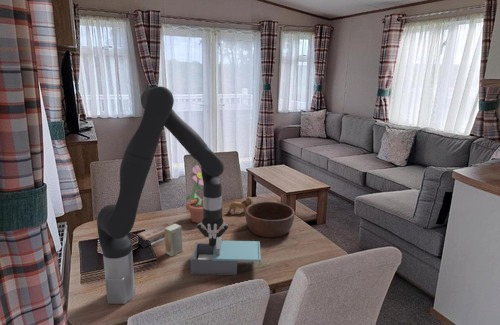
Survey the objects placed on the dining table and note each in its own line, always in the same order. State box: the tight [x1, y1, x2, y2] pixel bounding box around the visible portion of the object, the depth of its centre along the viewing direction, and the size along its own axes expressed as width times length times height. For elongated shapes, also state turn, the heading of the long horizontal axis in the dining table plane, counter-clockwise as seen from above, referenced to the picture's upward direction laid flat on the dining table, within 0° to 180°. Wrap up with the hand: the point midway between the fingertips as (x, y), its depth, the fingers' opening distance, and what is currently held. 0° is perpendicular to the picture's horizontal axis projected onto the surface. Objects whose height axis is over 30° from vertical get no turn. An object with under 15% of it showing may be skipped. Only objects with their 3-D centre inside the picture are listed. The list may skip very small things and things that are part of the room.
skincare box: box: [164, 223, 184, 257], centre depth 146 cm, size 6×4×12 cm
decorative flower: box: [185, 164, 204, 224], centre depth 176 cm, size 15×14×30 cm
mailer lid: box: [212, 236, 262, 266], centre depth 137 cm, size 15×19×5 cm
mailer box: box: [190, 242, 239, 276], centre depth 139 cm, size 14×18×6 cm
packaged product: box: [136, 223, 171, 246], centre depth 159 cm, size 18×5×10 cm
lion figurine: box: [226, 196, 254, 215], centre depth 190 cm, size 15×5×9 cm, turn 106°
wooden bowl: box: [244, 201, 296, 238], centre depth 171 cm, size 25×25×10 cm
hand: (212, 245), depth 137 cm, fingers closed
